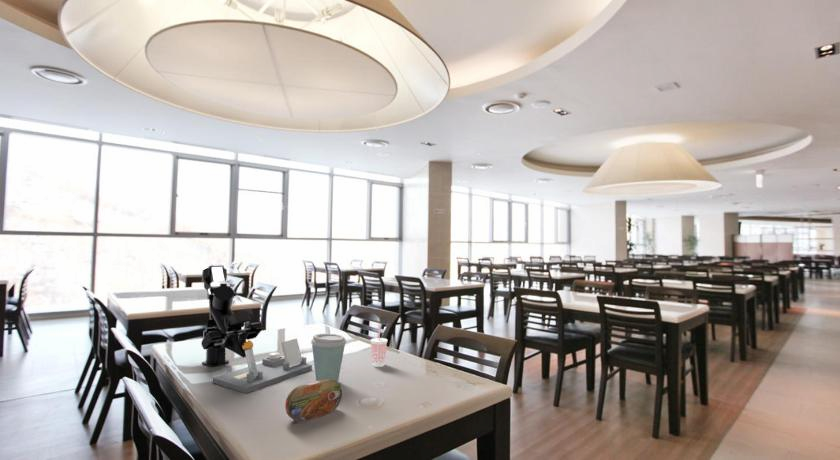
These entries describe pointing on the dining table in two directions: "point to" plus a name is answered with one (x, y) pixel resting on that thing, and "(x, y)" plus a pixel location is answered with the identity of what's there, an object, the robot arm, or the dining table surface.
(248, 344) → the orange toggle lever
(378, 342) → the beverage cup
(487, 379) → the dining table surface
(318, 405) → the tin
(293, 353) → the grey paddle
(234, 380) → the switch panel
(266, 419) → the dining table surface
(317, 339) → the disposable coffee cup
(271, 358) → the cream push button
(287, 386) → the dining table surface
